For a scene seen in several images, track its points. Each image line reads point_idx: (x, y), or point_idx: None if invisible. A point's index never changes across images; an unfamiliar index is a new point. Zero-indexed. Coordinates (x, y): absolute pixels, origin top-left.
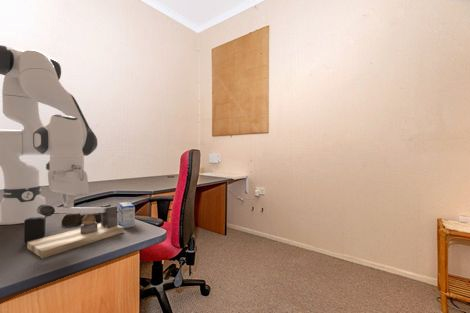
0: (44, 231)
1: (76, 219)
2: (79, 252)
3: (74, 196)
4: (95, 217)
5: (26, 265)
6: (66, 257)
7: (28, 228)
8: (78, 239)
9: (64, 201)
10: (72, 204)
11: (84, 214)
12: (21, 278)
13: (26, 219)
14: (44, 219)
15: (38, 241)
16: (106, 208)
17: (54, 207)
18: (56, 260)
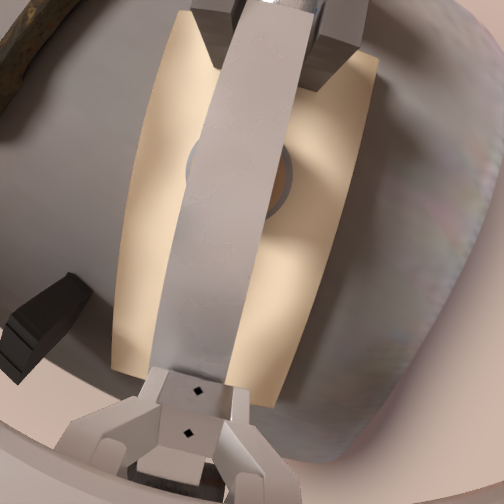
0: (64, 297)
1: (3, 84)
2: (362, 319)
3: (295, 488)
4: (60, 7)
5: (274, 424)
6: (350, 359)
7: (41, 356)
8: (304, 288)
9: (152, 445)
10: (246, 410)
11: (3, 40)
12: (336, 449)
13: (6, 372)
14: (31, 325)
15: (144, 356)
16: (307, 36)
17: (162, 463)
18: (335, 382)
